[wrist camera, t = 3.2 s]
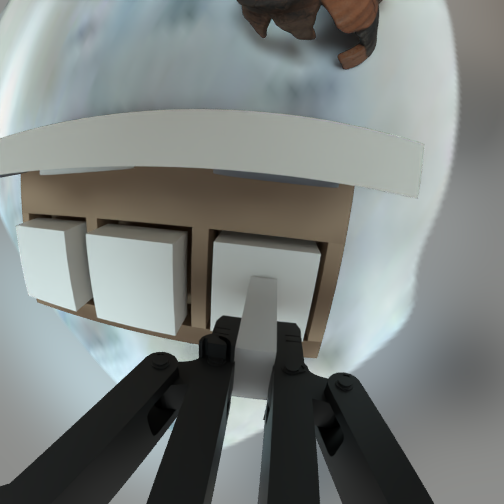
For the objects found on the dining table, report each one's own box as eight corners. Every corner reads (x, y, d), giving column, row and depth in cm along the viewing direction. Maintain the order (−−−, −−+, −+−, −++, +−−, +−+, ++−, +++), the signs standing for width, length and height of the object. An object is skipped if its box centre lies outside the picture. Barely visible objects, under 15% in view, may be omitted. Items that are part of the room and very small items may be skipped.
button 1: (37, 217, 18) (15, 225, 15) (86, 221, 17) (63, 231, 15) (47, 282, 19) (28, 295, 17) (95, 295, 19) (76, 311, 17)
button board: (51, 136, 18) (22, 136, 15) (343, 139, 17) (360, 134, 13) (60, 285, 23) (37, 302, 20) (311, 327, 22) (317, 358, 18)
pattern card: (30, 151, 15) (-70, 167, 6) (332, 153, 14) (424, 143, 5) (30, 169, 16) (-70, 193, 6) (329, 179, 14) (415, 212, 5)
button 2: (222, 230, 18) (213, 241, 15) (314, 240, 18) (320, 254, 15) (218, 310, 20) (210, 330, 17) (299, 319, 20) (302, 341, 17)
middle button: (108, 223, 17) (85, 233, 15) (187, 231, 17) (172, 244, 14) (115, 299, 19) (97, 317, 17) (187, 314, 19) (175, 335, 16)
